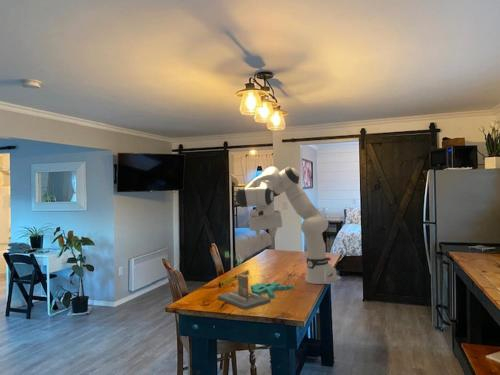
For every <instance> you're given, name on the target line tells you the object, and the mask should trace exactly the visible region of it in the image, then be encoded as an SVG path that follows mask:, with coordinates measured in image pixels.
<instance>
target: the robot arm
mask: <svg viewBox="0 0 500 375" xmlns="http://www.w3.org/2000/svg"><path fill="white" fill-rule="evenodd" d="M299 180H300V174H299V172H298V170H297V169H296V168H295V167H293V166H292V165H291V166H290V165H289V166H287V167H285V168H284V169H282V170H279V168H277V167H276V166H268V167H267V168H265V169H264V170H263V171H262V172H261V173H260V175H258V176H255V178H253V179H251V180H250V181H248V182H247V183H246V184H245V185H244V186H243V187H240V188H238V189H237V191H236V192H235V203H237V205H238V206H240V207H241V208H248V207H251V208H252V207H256V208H254V209H252V210H251V211H249V220H248V229H249V230H250V231H252V232H255V234H256V235H257V240H259V239H260V240H262V238H263V236H262V234H260V232H261V231H263V230H271V229H272V232H271V233H270V235H271V237H272V238H273V237H274V238H275V237H276V233H277V231H278V229H279V228H282V227H283V220H282V213H281V212H280V211H279V210H275V205H274V200H275V197H278V196H280V195H282V193H285V195H286V198H287V200H288V201H289V203H290V205H291V207H292V208H293V209H294V211H295V213H296V214H297V215H298V216H300V217H301V218H302V219H303V221H302V223H301V226H300V228H301V229H300V230H301V232H302V233H303V236H304V239H305V243H306V244H305V245H306V265H307V266H306V272H305V277H304V281H305V282H306V283H308V284H313V285H330V284H333V283H335V282H338V281H339V280H341V279H342V277H341V276H340V275H337V269H336V268H335V267H334V266H332V264H330V263H329V261H332V257H329V256H327V251H326V247H327V246H326V242H325V241H324V236H323V233H324V232H326V230H327V229H328V227H329V220H328V219H327V217H325V216H324V215H323V213H321V211H320V210H319V209H318V208H317V207H316V206H315V204H313V203H312V201H311V199H310V198H309V197H308V195H307V193H306V192H305V190H304V189H303V188H302V186H301V185H299V183H300V182H299ZM326 256H327V257H326Z"/></svg>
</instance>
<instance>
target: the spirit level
mask: <svg viewBox="0 0 500 375" xmlns="http://www.w3.org/2000/svg"><path fill="white" fill-rule="evenodd" d="M249 272H250V271H249V269H246V270H244V271H243V272H239V273H238V274H236V275H234V276H231V277H229V278H227V279H225V280H223V281H220V282H218V288H222V287H224V286H227V285H229V284H231V283H234V282H235V281H238V275H241V274H242V275H245V276H248V275H249V274H250V273H249Z"/></svg>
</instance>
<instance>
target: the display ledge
mask: <svg viewBox="0 0 500 375" xmlns="http://www.w3.org/2000/svg"><path fill="white" fill-rule="evenodd" d="M248 293H249V295H251V297H250V298H243V297H241V296H238V289H237V290H233V291H229V292H225V293H222V294H219V295H217V299H219V300H221V301H224V302H225V303H228V304H231V305H234V306H236V307H238V308H240V309H243V310H248V309H251V308H254V307H258V306H261V305H265V304H268V303H271V298H269V297H267V296H263V295H262V294H261V295H258V294H255V293H252V291H249V290H248Z"/></svg>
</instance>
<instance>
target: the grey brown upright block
mask: <svg viewBox="0 0 500 375" xmlns="http://www.w3.org/2000/svg"><path fill="white" fill-rule="evenodd" d="M237 275H238V274H237ZM248 277H249V276H248V275H246V276H245V275H242V274H241V275H238V280H237V290H238V296H241V297H243V298H250V297H251V295H249V293H248V291H249V278H248Z"/></svg>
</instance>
